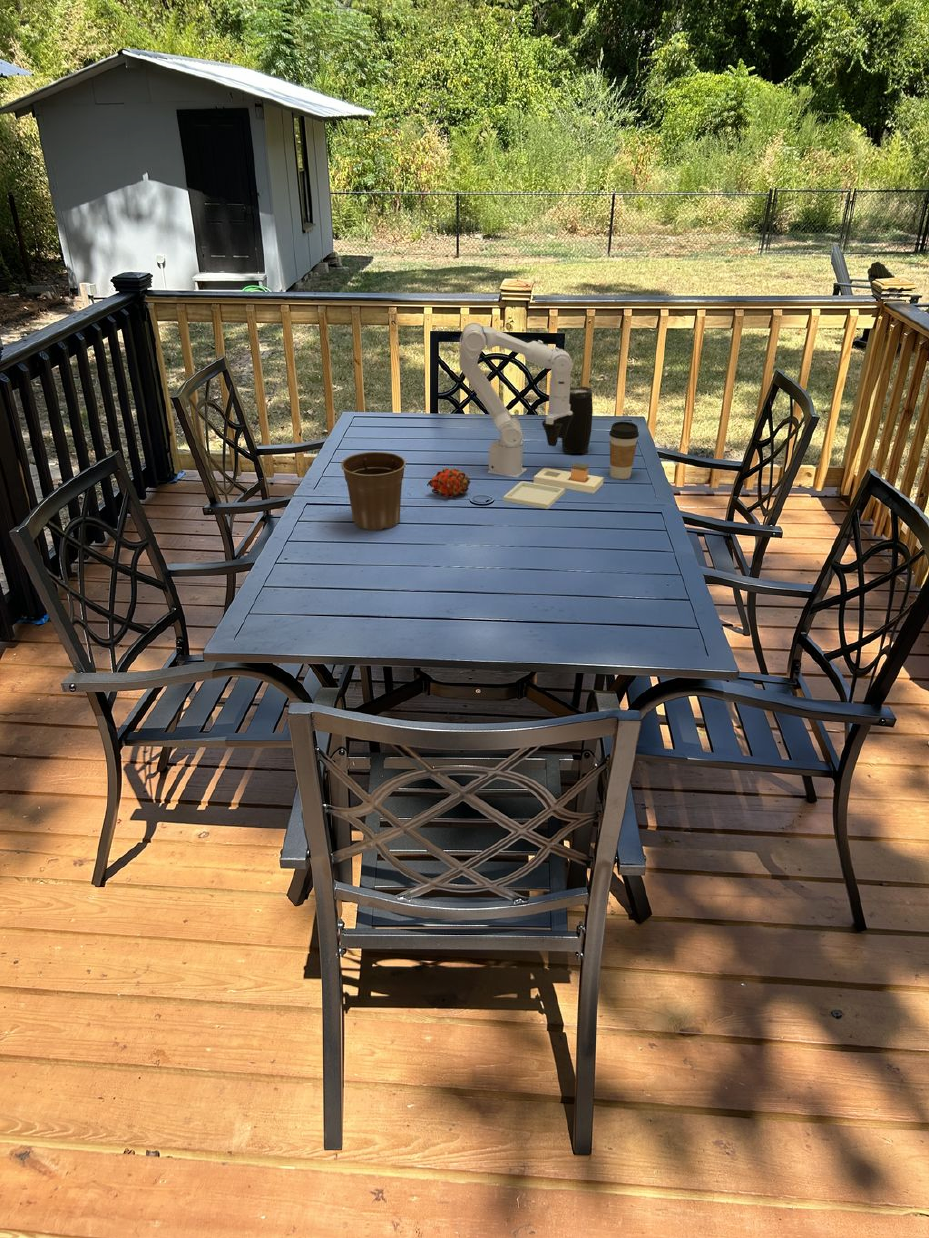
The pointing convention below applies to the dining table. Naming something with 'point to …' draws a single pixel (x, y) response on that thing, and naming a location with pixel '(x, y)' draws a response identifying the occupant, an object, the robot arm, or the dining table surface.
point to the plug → (579, 472)
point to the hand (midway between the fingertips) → (556, 441)
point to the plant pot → (374, 488)
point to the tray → (534, 495)
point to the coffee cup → (622, 449)
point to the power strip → (567, 480)
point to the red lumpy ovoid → (449, 483)
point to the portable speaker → (579, 421)
